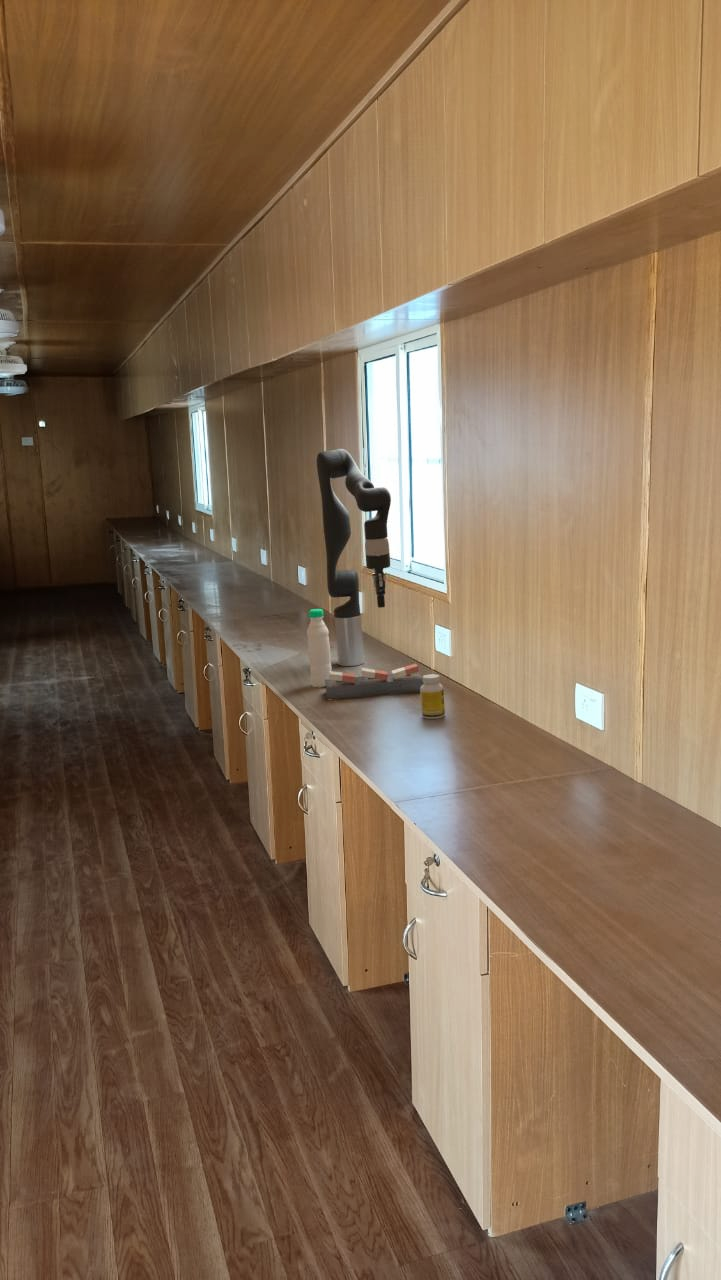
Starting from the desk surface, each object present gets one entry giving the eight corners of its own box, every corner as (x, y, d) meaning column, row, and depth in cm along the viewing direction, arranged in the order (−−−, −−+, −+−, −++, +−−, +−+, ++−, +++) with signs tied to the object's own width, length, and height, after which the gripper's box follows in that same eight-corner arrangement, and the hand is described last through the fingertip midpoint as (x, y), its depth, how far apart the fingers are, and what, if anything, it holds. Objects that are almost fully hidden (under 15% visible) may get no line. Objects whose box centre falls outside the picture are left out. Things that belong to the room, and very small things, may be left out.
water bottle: (334, 682, 324) (328, 607, 319) (331, 687, 317) (325, 611, 312) (313, 683, 325) (306, 608, 320) (309, 688, 318) (303, 612, 313)
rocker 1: (328, 676, 305) (329, 671, 305) (354, 679, 306) (354, 674, 306) (328, 679, 301) (329, 673, 301) (354, 682, 302) (355, 677, 302)
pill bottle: (443, 719, 272) (441, 678, 269) (420, 720, 273) (417, 679, 271) (446, 713, 278) (444, 673, 275) (423, 713, 279) (421, 673, 277)
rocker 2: (360, 673, 306) (361, 667, 306) (385, 677, 307) (386, 671, 306) (361, 676, 302) (362, 670, 302) (387, 680, 303) (388, 674, 302)
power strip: (326, 692, 312) (325, 679, 311) (420, 683, 313) (419, 670, 312) (327, 700, 302) (325, 686, 301) (424, 691, 303) (423, 678, 302)
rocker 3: (392, 676, 307) (391, 670, 306) (417, 668, 307) (415, 663, 306) (394, 679, 303) (392, 673, 302) (419, 671, 303) (417, 666, 302)
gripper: (363, 550, 313) (367, 604, 317) (367, 556, 300) (371, 612, 304) (387, 548, 313) (391, 602, 317) (391, 554, 300) (395, 610, 304)
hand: (381, 606), depth 311 cm, fingers closed
